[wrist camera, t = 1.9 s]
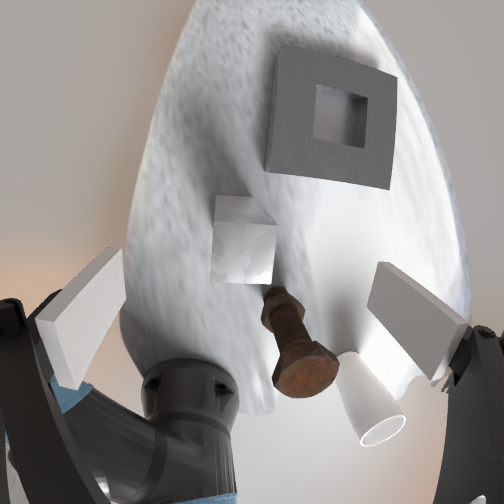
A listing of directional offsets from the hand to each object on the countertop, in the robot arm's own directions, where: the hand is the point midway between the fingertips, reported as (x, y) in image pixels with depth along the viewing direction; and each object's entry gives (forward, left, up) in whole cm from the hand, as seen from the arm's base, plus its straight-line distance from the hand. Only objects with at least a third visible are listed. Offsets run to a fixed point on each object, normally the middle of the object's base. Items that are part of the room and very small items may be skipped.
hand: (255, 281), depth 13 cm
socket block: (+12, -10, -19) cm, 24 cm away
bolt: (-10, -6, -19) cm, 22 cm away
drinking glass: (-22, -19, -19) cm, 35 cm away
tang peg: (0, 0, -19) cm, 19 cm away
